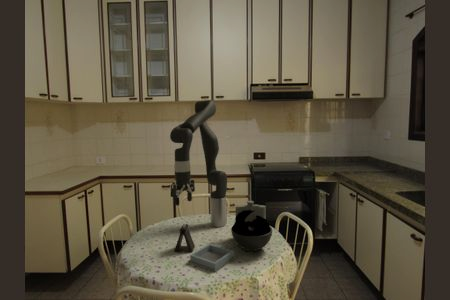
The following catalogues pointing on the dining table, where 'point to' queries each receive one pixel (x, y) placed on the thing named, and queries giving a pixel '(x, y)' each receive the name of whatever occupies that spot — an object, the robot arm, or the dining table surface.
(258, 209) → the hip flask
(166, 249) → the dining table surface
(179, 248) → the phone stand
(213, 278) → the dining table surface
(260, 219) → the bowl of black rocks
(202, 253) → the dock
